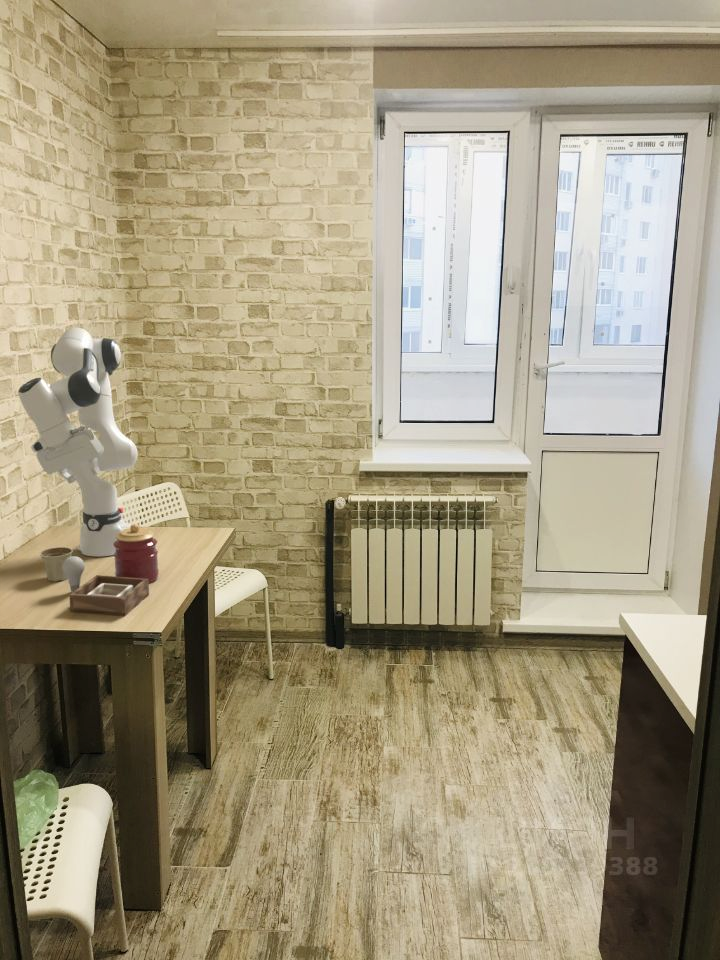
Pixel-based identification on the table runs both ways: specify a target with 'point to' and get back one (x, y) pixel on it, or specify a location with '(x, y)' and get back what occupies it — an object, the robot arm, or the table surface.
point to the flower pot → (55, 562)
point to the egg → (73, 571)
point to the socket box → (109, 595)
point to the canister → (136, 554)
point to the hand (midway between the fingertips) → (84, 477)
